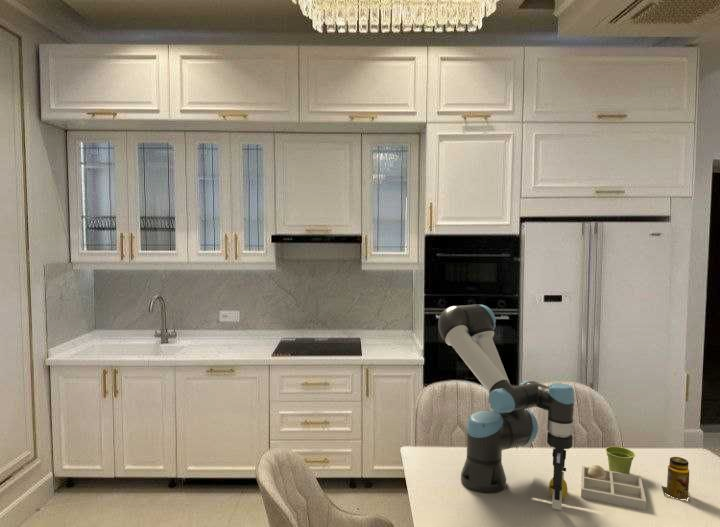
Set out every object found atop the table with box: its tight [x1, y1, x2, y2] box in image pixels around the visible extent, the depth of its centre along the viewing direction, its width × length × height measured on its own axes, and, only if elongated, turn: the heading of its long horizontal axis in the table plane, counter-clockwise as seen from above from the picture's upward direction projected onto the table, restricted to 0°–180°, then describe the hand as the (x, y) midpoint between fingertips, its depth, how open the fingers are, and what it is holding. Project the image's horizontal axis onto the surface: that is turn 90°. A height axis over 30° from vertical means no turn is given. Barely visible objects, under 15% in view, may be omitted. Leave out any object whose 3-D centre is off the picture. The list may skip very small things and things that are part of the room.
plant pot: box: [604, 446, 636, 474], centre depth 184 cm, size 9×9×9 cm
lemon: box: [548, 477, 568, 500], centre depth 166 cm, size 6×6×8 cm
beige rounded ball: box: [588, 464, 606, 480], centre depth 177 cm, size 6×6×6 cm
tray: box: [580, 465, 647, 511], centre depth 172 cm, size 18×18×4 cm
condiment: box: [661, 456, 691, 503], centre depth 171 cm, size 7×8×12 cm
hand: (557, 499), depth 166 cm, fingers open, 12 cm apart
